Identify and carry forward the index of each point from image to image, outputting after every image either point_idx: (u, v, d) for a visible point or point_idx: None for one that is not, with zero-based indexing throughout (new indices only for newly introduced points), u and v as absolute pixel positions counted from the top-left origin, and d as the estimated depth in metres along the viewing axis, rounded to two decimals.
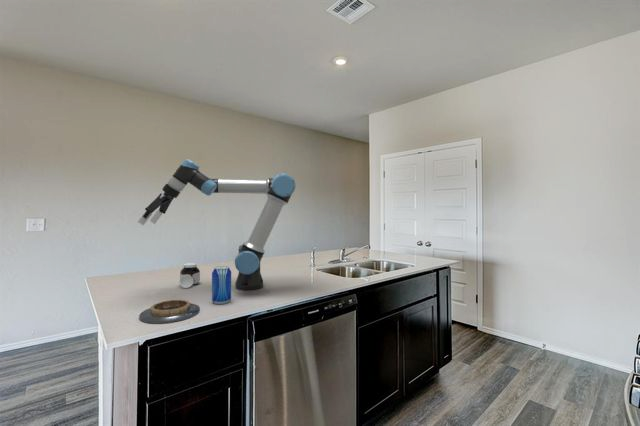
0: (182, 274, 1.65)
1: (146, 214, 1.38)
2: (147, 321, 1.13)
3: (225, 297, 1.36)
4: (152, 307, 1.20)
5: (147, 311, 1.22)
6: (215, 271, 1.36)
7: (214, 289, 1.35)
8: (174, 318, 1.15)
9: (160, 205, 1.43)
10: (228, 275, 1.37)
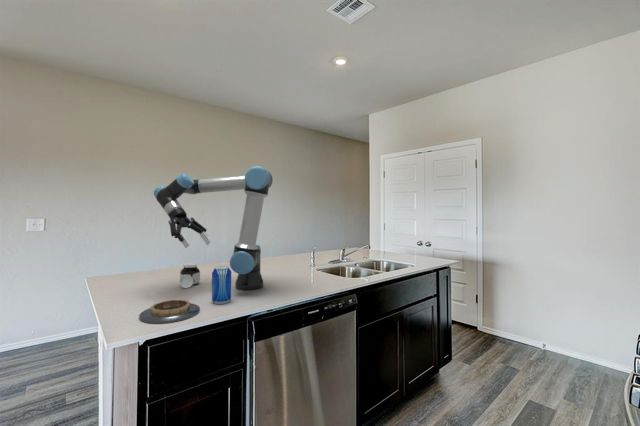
0: (182, 274, 1.65)
1: (179, 237, 1.37)
2: (147, 321, 1.13)
3: (225, 297, 1.36)
4: (152, 307, 1.20)
5: (147, 311, 1.22)
6: (215, 271, 1.36)
7: (214, 289, 1.35)
8: (174, 318, 1.15)
9: (181, 225, 1.43)
10: (228, 275, 1.37)
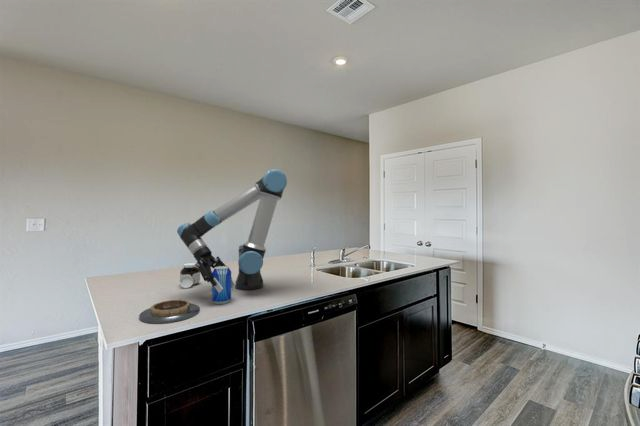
0: (182, 274, 1.65)
1: (212, 282, 1.33)
2: (147, 321, 1.13)
3: (224, 297, 1.36)
4: (152, 307, 1.20)
5: (147, 311, 1.22)
6: (215, 271, 1.36)
7: (214, 289, 1.35)
8: (174, 318, 1.15)
9: (210, 267, 1.38)
10: (228, 275, 1.37)
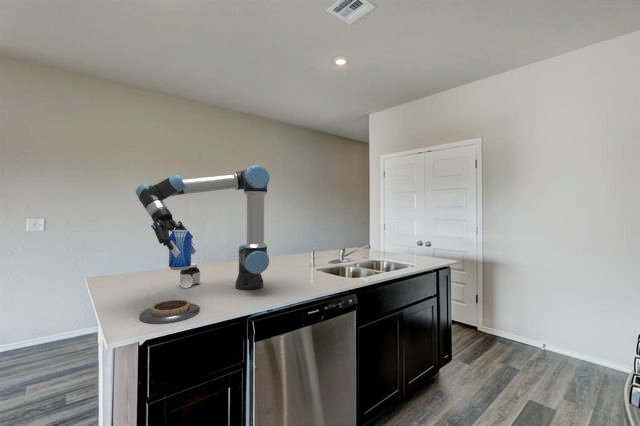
0: (182, 274, 1.65)
1: (168, 245, 1.21)
2: (147, 321, 1.13)
3: (182, 263, 1.23)
4: (152, 307, 1.20)
5: (147, 311, 1.22)
6: (172, 234, 1.23)
7: (171, 253, 1.23)
8: (174, 318, 1.15)
9: (168, 230, 1.26)
10: (187, 239, 1.24)
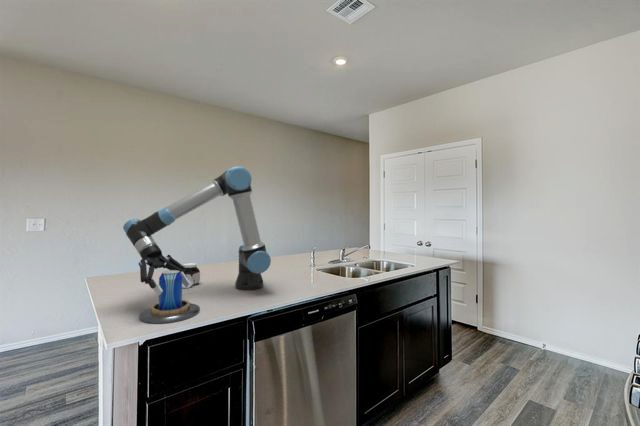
0: None
1: (150, 283, 1.16)
2: (147, 321, 1.13)
3: (172, 306, 1.20)
4: (152, 307, 1.20)
5: (147, 311, 1.22)
6: (162, 276, 1.20)
7: (160, 296, 1.19)
8: (174, 318, 1.15)
9: (154, 267, 1.21)
10: (177, 281, 1.21)
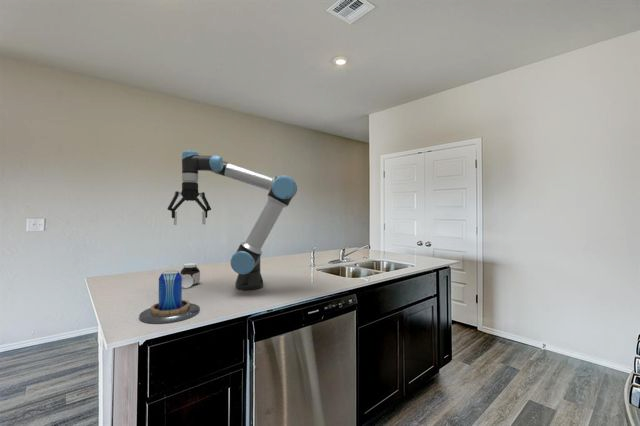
0: (182, 274, 1.65)
1: (172, 214, 1.46)
2: (147, 321, 1.13)
3: (172, 306, 1.20)
4: (152, 307, 1.20)
5: (147, 311, 1.22)
6: (162, 276, 1.20)
7: (160, 297, 1.19)
8: (174, 318, 1.15)
9: (182, 202, 1.48)
10: (177, 281, 1.21)
